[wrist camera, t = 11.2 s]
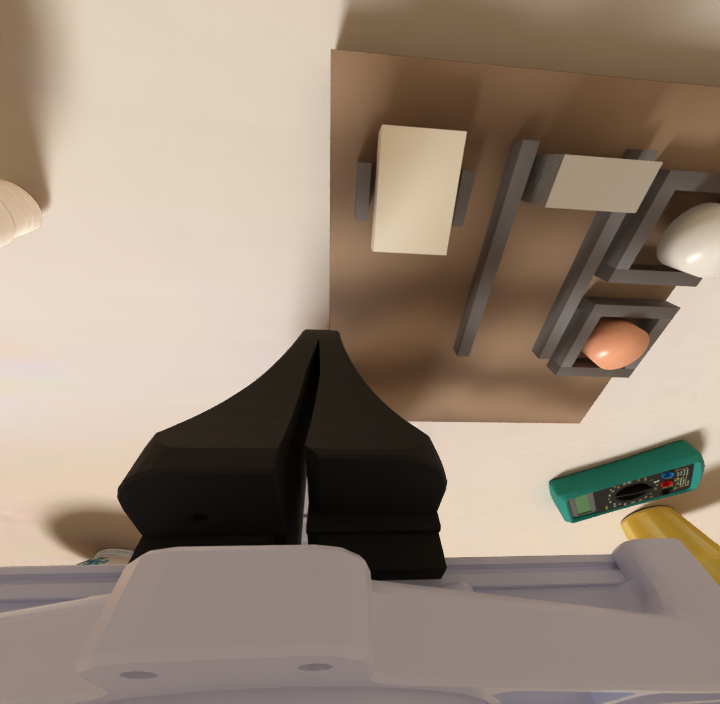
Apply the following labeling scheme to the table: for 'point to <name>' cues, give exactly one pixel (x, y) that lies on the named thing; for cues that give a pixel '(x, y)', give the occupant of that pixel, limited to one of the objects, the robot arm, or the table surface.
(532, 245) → the brown flat wooden tray
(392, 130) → the block
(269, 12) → the table surface
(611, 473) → the digital multimeter
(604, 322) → the peach egg shape
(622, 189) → the light grey small block
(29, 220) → the lightbulb
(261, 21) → the table surface
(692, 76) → the table surface
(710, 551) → the plant pot
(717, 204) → the cream egg shape
